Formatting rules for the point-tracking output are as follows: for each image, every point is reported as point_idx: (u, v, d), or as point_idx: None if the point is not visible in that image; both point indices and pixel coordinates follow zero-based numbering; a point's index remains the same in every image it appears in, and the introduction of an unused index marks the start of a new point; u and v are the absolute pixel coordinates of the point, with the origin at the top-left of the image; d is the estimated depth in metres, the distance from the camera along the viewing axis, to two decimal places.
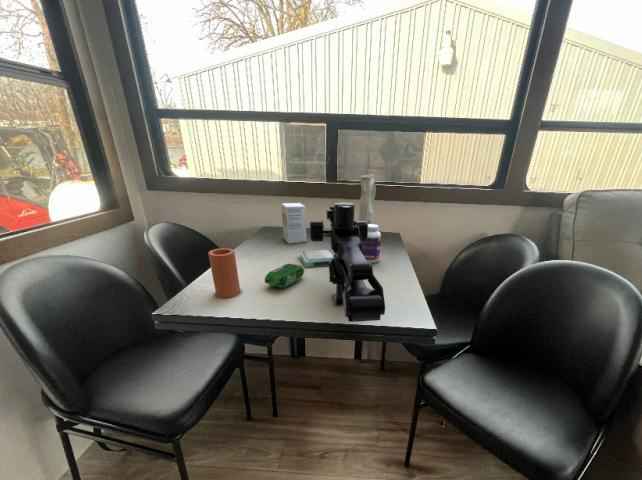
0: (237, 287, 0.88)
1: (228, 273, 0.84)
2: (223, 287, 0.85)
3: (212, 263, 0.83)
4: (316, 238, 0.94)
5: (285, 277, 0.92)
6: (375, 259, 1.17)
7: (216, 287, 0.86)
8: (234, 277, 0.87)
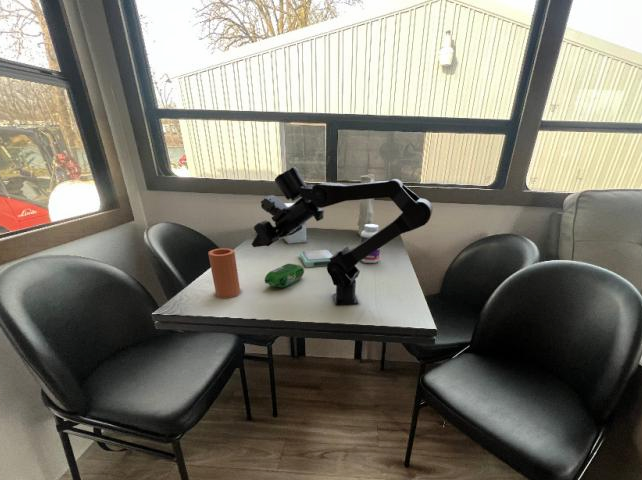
0: (237, 287, 0.88)
1: (228, 273, 0.84)
2: (223, 287, 0.85)
3: (212, 263, 0.83)
4: (274, 236, 0.78)
5: (285, 277, 0.92)
6: (375, 259, 1.17)
7: (216, 287, 0.86)
8: (234, 277, 0.87)
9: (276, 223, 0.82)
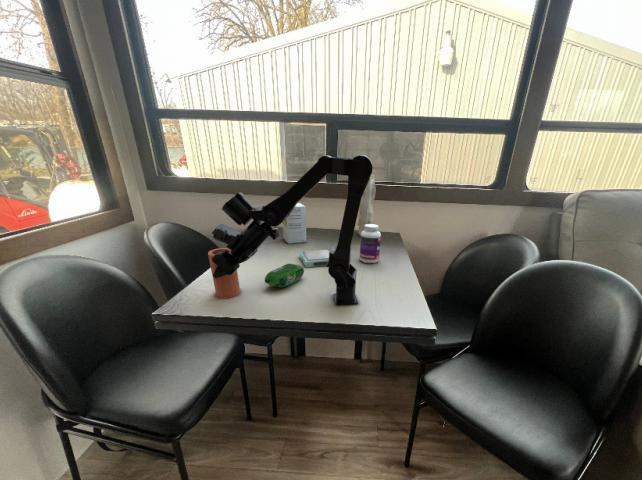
0: (237, 287, 0.88)
1: None
2: (223, 287, 0.85)
3: (212, 263, 0.83)
4: (235, 264, 0.78)
5: (285, 277, 0.92)
6: (375, 259, 1.17)
7: (216, 287, 0.86)
8: (234, 277, 0.86)
9: (232, 250, 0.81)
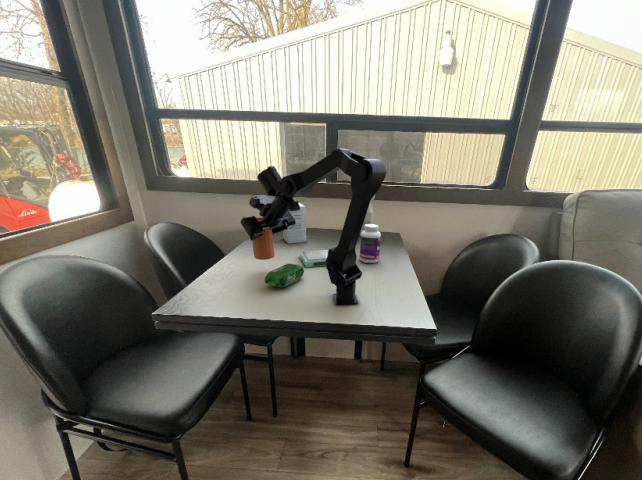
0: (269, 252, 1.00)
1: (260, 238, 0.97)
2: (256, 249, 0.99)
3: None
4: (256, 228, 0.89)
5: (285, 277, 0.92)
6: (375, 259, 1.17)
7: (253, 249, 1.01)
8: (266, 243, 0.99)
9: (263, 218, 0.93)
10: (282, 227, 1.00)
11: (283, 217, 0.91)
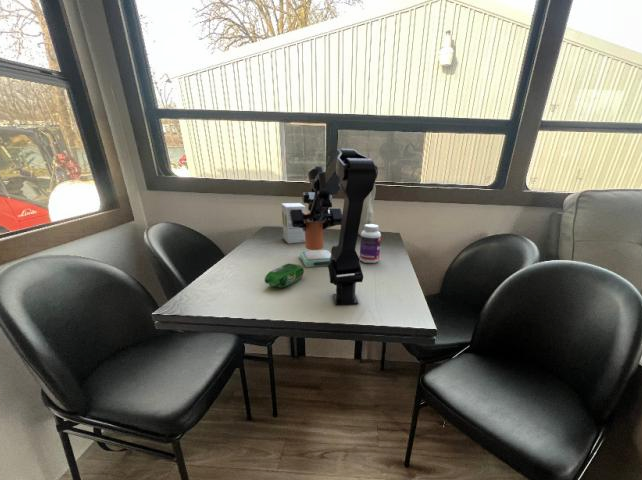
0: (315, 244, 1.11)
1: (308, 230, 1.09)
2: (305, 239, 1.12)
3: None
4: (297, 219, 1.01)
5: (285, 277, 0.92)
6: (375, 259, 1.17)
7: None
8: (313, 235, 1.10)
9: None
10: (330, 223, 1.08)
11: (322, 213, 1.00)
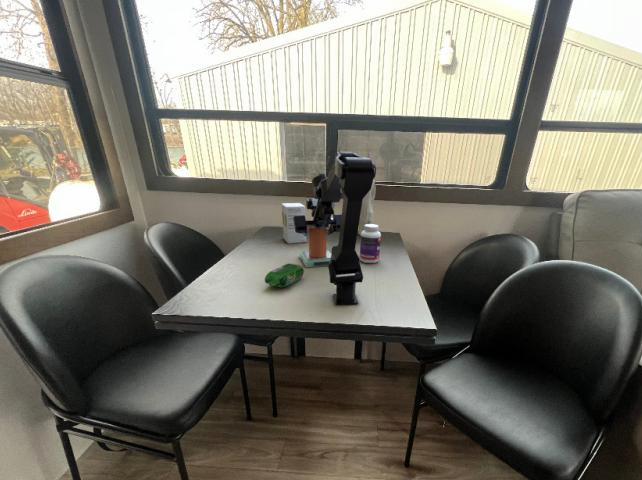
0: (318, 251, 1.13)
1: (312, 237, 1.11)
2: (309, 246, 1.14)
3: None
4: (301, 225, 1.03)
5: (285, 277, 0.92)
6: (375, 259, 1.17)
7: None
8: (317, 243, 1.12)
9: None
10: (335, 229, 1.10)
11: (324, 219, 1.01)
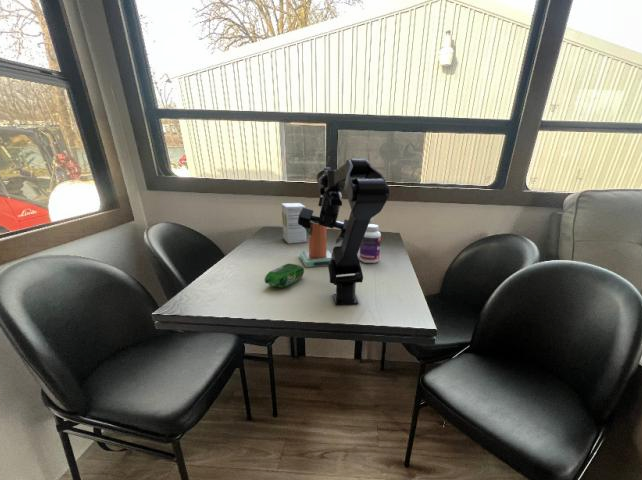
0: (318, 251, 1.13)
1: (312, 237, 1.11)
2: (309, 246, 1.14)
3: None
4: (304, 217, 0.96)
5: (285, 277, 0.92)
6: (375, 259, 1.17)
7: None
8: (317, 243, 1.12)
9: None
10: None
11: (328, 215, 0.92)
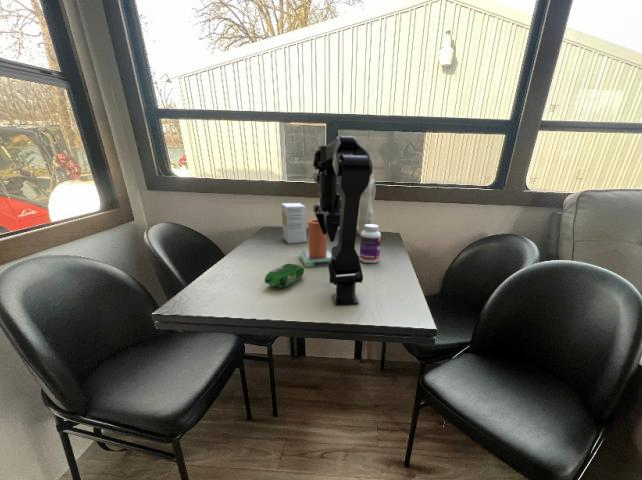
0: (318, 251, 1.13)
1: (312, 237, 1.11)
2: (309, 246, 1.14)
3: None
4: (317, 204, 1.03)
5: (285, 277, 0.92)
6: (375, 259, 1.17)
7: None
8: (317, 243, 1.12)
9: None
10: None
11: (319, 192, 0.94)
